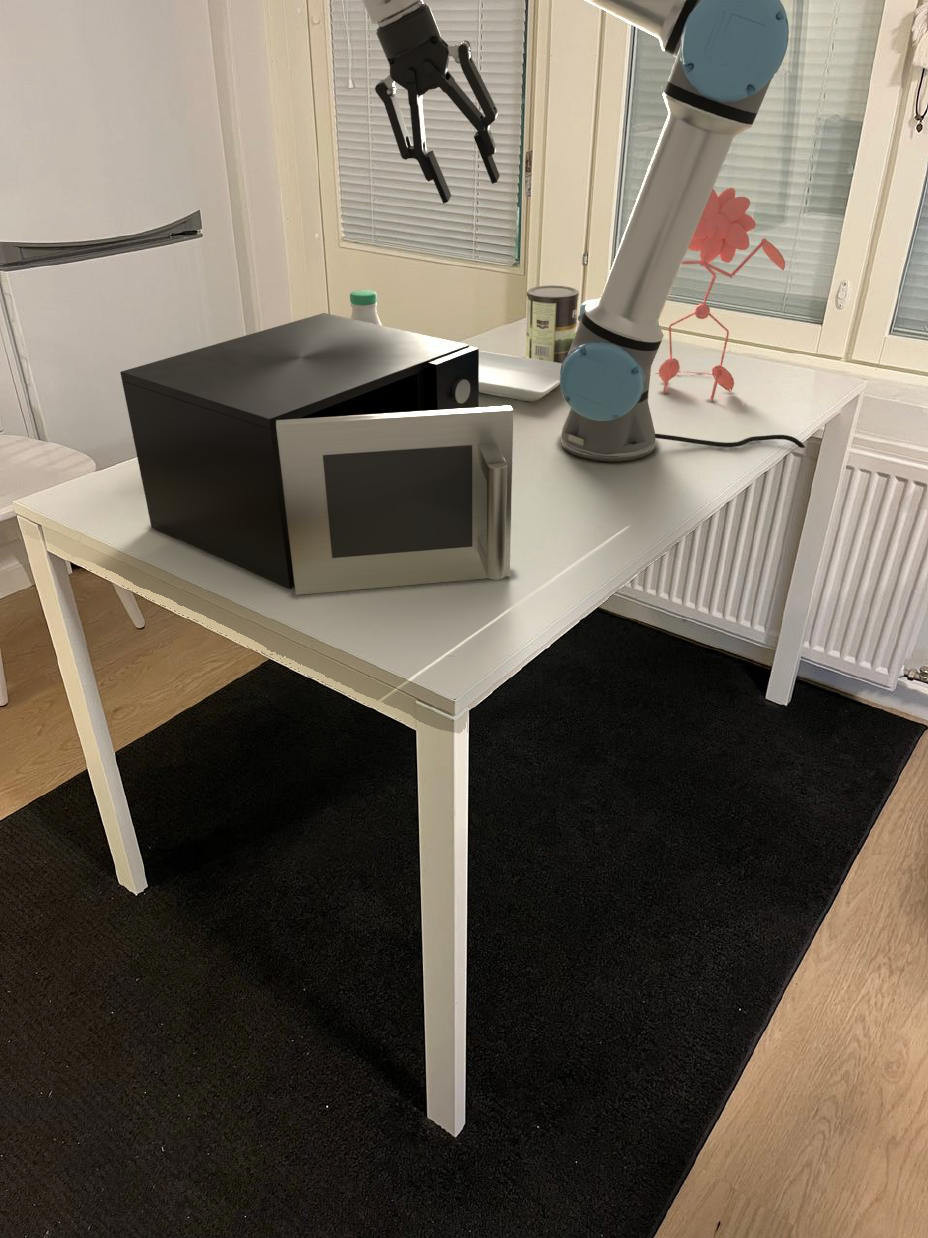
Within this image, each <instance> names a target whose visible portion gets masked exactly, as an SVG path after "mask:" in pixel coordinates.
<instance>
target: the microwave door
mask: <svg viewBox="0 0 928 1238" xmlns="http://www.w3.org/2000/svg"><path fill="white" fill-rule="evenodd" d="M276 430H277V438H278V447H279V455H280V464H281V473H282V481H283V490H284V498H285V507H286V515H287V524H288V533H289V541H290V550H291V558H292V567H293V575H294V584H295V587H294V591H295V595H296V596H301V595H313V594H323V593H335V592H336V593H337V592H348V591H359V590H368V589H370V590H371V589H381V588H392V587H393V588H394V587H404V586H417V585H427V584H441V583H449V582H450V583H451V582H462V581H473V580H474V581H475V580H485V579H490V580H493V581H494V580H495V581H497V580H498V581H499V580H501V579H504V578H509V577H510V576H511V540H512V539H511V538H512V537H511V535H512V534H511V533H512V495H513V493H512V491H513V489H512V488H513V487H512V486H513V450H514V449H513V445H514V444H513V443H514V436H513V435H514V409H513V407H512V406H511V405H501V406H499V405H498V406H497V405H496V406H487V407H486V406H483V407H479V408H465V409H449V410H433V411H417V412H401V413H385V414H369V415H353V416H337V417H321V418H305V419H289V420H276Z"/></svg>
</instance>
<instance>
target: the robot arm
mask: <svg viewBox="0 0 928 1238" xmlns="http://www.w3.org/2000/svg"><path fill="white" fill-rule="evenodd" d="M585 1H586V2H588V3H589V4H591V5H593V6H595V7H597V8H599V9H601V10H603V11H605V12H607V13H609V14H611V15H613V16H615V17H616V18H619V19H621V20H622V21H624V22H625V23H628V24H630V25H632V26H634V27H636V28H638V29H639V30H642V31H643V32H645V33H648V34H650V35H651V36H654V37H655V38H657V39H658V40H659V43H660V47H661V50H662V51H663V52H665V53H667V54H669V55H670V56H673V57H674V58H675V59H674V63H673V65H672V68H671V70H670V74H669V76H668V79H667V82H666V85H665V87H664V91H663V93H662V97H663V99H664V103H665V106H666V108H667V114H668V115H667V118H666V120H665V122H664V126H663V128H662V131H661V133H660V136H659V139H658V142H657V145H656V147H655V150H654V153H653V155H652V158H651V161H650V163H649V165H648V168H647V171H646V174H645V177H644V180H643V182H642V185H641V188H640V190H639V192H638V195H637V198H636V201H635V204H634V205H633V206H634V207H633V209H632V212H631V214H630V217H629V220H628V223H627V226H626V228H625V231H624V234H623V236H622V238H621V242H620V244H619V247H618V249H617V252H616V255H615V258H614V260H613V263H612V266H611V269H610V271H609V274H608V277H607V280H606V282H605V284H604V288H603V290H602V292H601V293H602V294H600V298H597V299H590V300H586V301H584V302H583V303H581V305H580V308H579V313H578V315H577V322H578V325H577V328H576V335H575V337H574V340H573V343H572V346H571V348H570V351H569V354H568V355H567V357H566V358H565V359H564V361H563V363H562V366H561V370H560V385H559V387H560V392H561V394H562V397H563V398H564V401H565V402H566V403H567V405H568V406H569V411H568V414H567V417H566V419H565V420H564V421H565V422H564V424H563V426H562V431H561V435H560V436H561V437H560V444H561V446H562V448H563V449H564V450H565V451H567V452H568V453H569V454H572V455H574V456H576V457H578V458H582V459H586V460H591V461H596V462H597V461H598V462H607V463H608V462H609V463H614V462H619V463H620V462H628V461H633V460H639V459H641V458H644V457H647V456H649V455H650V454H652V453H653V451H654V450H655V446H656V439H658V440H668V441H675V442H682V443H689V444H695V445H702V446H703V445H704V446H710V447H716V448H717V447H719V448H736V447H737V448H738V447H741V446H744V445H746V444H748V443H751V442H759V441H760V442H761V441H772V440H773V441H774V440H783V441H788V442H792V443H793V444H795V445H796V446H798V448H801V449H804V448H805V449H806V446H805V445H804V444H803V442H802V441H800V440H799V439H798V438H796V437H794V436H792V435H787V434H769V435H767V434H766V435H755V436H750V437H749V436H748V437H747V438H743V439H741V440H738V441H732V442H729V441H728V442H726V441H725V442H724V441H714V440H707V439H698V438H691V437H684V436H678V435H671V434H662V433H656V431H655V426H654V422H653V418H652V413H651V408H650V405H649V393H650V392H649V391H650V382H651V381H650V380H651V372H652V366H653V364H654V363H653V362H654V361H655V359H656V355H657V353H658V351H659V349H660V346H661V344H662V341H663V339H664V336H665V335H664V334H665V333H664V332H663V329H662V326H661V324H660V321H659V320H660V318H661V316H662V313H663V311H664V308H665V306H666V303H667V301H668V299H669V295H670V294H671V291H672V288H673V286H674V284H675V281H676V279H677V277H678V274H679V272H680V270H681V267H682V265H683V264H682V262H683V261H685V260H684V259H685V257H686V255H687V252H688V250H689V249H688V247H689V245H690V243H691V240H692V238H693V235H694V233H695V230H696V228H697V226H698V223H699V221H700V218H701V216H702V213H703V211H704V209H705V206H706V204H707V201H708V199H709V196H710V194H711V192H712V189H714V187H715V184H716V181H717V179H718V177H719V175H720V172H721V169H722V167H723V164H724V162H725V160H726V158H727V155H728V153H729V150H730V148H731V145H732V143H733V141H734V138H735V137H736V136H738V135H739V134H742V133H743V132H746V131H747V130H749V129H751V128H752V126H753V124H754V122H755V120H756V117H757V115H758V113H759V111H760V108H761V106H762V103H763V102H764V99H765V97H766V94H767V91H768V89H769V86H770V84H771V82H772V80H773V78H774V76H775V74H777V73H778V71H779V69H780V67H781V66H782V64H783V61H784V58H785V56H786V52H787V50H788V45H789V37H790V36H789V33H790V31H789V30H790V29H789V27H790V26H789V19H788V15H787V12H786V8H785V7H784V4H783V3H782V1H781V0H585ZM362 4H363V5H364V8H365V10H366V12H367V14H368V17H369V20H370V21H371V24H373V25H377V26H378V28H376V32H375V34H376V35H377V38H378V41H379V43H380V46H381V49H382V51H383V53H384V56H385V58H386V60H387V62H388V65H389V75H387V76H386V77H385V78H384V79H381V80H379V82H378V83H376V85H375V86H374V91H375V93H376V94H377V96H378V97H379V99H380V100H381V101H382V103H383V105H384V107H385V110H386V114H387V117H388V120H389V123H390V126H391V130H392V132H393V136H394V138H395V141H396V144H397V148H398V151H399V154H400V157H401V159H403V160H409V159H413V160H416V161H417V162H418V164H419V167H420V169H421V172H422V174H423V176H424V179H425V181H427V182H431V181H433V183H434V185H435V188H436V190H437V193H438V195H439V197H440V199H441V202H442V204H443V205H444V204H447V203H449V202H450V200H451V197H452V193H451V191H450V188H449V186H448V183H447V181H446V179H445V175H444V173H443V172H442V169H441V166H440V164H439V162H438V159H437V157H436V155H435V152H434V150H429V151H428V152H427V150H428V147H427V143H426V142H427V141H426V130H425V117H424V105H423V98H424V97H423V95H425V94H426V93H427V92H428V91H430V90H436V89H440V91H442V92H443V93H445V94H446V95H447V96H448V98H449V99H450V100H451V101H452V102H453V104H454V105H455V107H456V108H457V109H458V110H459V111H460V112H461V113H462V114H463V116H464V117H465V118H466V120H468V121H469V123H470V124H471V125H472V126H473V128H474V129H475V130H476V132H475V133H474V134H473V135H474V136H473V139H474V142H475V143H476V147H477V149H478V152H479V154H480V157H481V160H482V162H483V165H484V167H485V170H486V173H487V175H488V177H489V180H490V183H491V185H494V184H496V183H498V181H499V179H500V176H501V175H500V173H499V170H498V167H497V165H496V162H495V160H494V157H493V155H495V154H496V152H497V145H496V142H495V139H494V137H493V134H492V132H491V130H490V129H491V128H490V125H491V124H493V123H494V122H495V121H496V119H497V117H498V115H499V110H498V108H497V106H496V104H495V102H494V99H493V98H492V96H491V94H490V92H489V90H488V87H487V86H486V83H485V82H484V80H483V77H482V76H481V74H480V72H479V70H478V68H477V66H476V63H475V62H474V60H473V54H472V47H471V43H470V41H469V40H463V41H462V42H461V43H457V44H451V45H449V44H448V43H447V42H446V41H445V40H444V38H443V37H442V35H441V32H440V30H439V27H438V25H437V22H436V20H435V17H434V14H433V12H432V10H431V9H432V8H431V7H430V5H429V4H428V3H427V2H424V1H423V0H362ZM450 57H452V58H453V59H454V62H456V64H459V65H460V67H461V70H462V73H463V74H464V77H465V79H466V81H467V83H468V85H469V87H470V89H471V91H472V93H473V95H474V97H475V99H476V100H477V103H478V105H479V107H480V109H481V110H482V112H483V113H482V112H481V111H480V110H479V108H478V107H477V106H476V105H475V104H474V102H473V101H472V100H471V99H470V97H469V96H468V95H467V93H465V91H464V90H463V89H462V88H461V87H460V85H459V84H458V83H457V82H456V80H455V78H454V76H453V75H452V74H451V72H450V71H449V70H448V67H449V61H450ZM395 83H396V84H398V85H399V86H401V88H403V89H405V90H406V91H407V99H408V105H409V112H410V121H411V122H410V123H411V132H412V133H411V135H412V141H411V138H410V135H409V132H408V129H407V125H406V122H405V120H404V119H405V118H404V116H403V113H402V110H401V106H400V104H399V100H398V98H397V96H396V90H397V88H396V85H395Z"/></svg>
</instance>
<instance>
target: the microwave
mask: <svg viewBox="0 0 928 1238" xmlns="http://www.w3.org/2000/svg"><path fill="white" fill-rule="evenodd" d="M479 348H480V347H479ZM479 348H478V347H474V346H470V344H467V343H463V342H459V341H453V340H448V339H444V338H439V337H435V336H431V335H426V334H422V333H417V332H413V331H408V330H403V329H399V328H395V327H389V326H386V325H382V326H381V325H377V324H372V323H368V322H363V321H359V320H354V319H351V317H350V318H349V317H344V316H341V315H335V314H331V313H327V312H323V313H319V314H316V315H312V316H309V317H304V318H302V319H298V320H294V321H292V322H287V323H284V324H281V325H278V326H274V327H271V328H267V329H264V330H260V331H257V332H252V333H249V334H247V335H243V336H239V337H236V338H232V339H228V340H226V341H222V342H218V343H216V344H212V345H208V346H204V347H201V348H197V349H194V350H190V351H188V352H184V353H180V354H176V355H174V356H170V357H166V358H162V359H160V360H156V361H153V362H149V363H145V364H143V365H139V366H135V367H132V368H129V369H125V370H123V371H122V370H121V371H120V373H119V374H120V378H121V379H120V380H121V383H122V388H123V393H124V399H125V404H126V409H127V413H128V418H129V424H130V429H131V432H132V433H131V434H132V438H133V443H134V449H135V452H136V458H137V463H138V467H139V472H140V478H141V483H142V487H143V492H144V497H145V503H146V508H147V512H148V517H149V522H150V527H151V529H153V530H156V531H158V532H160V533H162V534H165V535H167V536H168V537H171V538H173V539H175V540H178V541H181V542H183V543H185V544H187V545H190V546H192V547H193V548H196V549H198V550H201V551H203V552H206V553H208V554H209V555H212V556H214V557H216V558H218V559H221V560H223V561H225V562H228V563H230V564H232V565H234V566H236V567H239V568H240V569H243V570H245V571H247V572H250V573H252V574H254V575H256V576H258V577H261V578H262V579H265V580H268V581H269V582H272V583H274V584H276V585H278V586H281V587H282V588H285V589H287V590H289V591H290V590H293V589H295V584H294V575H293V567H292V558H291V550H290V541H289V533H288V524H287V515H286V507H285V498H284V490H283V481H282V473H281V464H280V455H279V447H278V438H277V430H276V420H289V419H305V418H321V417H337V416H353V415H369V414H385V413H401V412H417V411H433V410H449V409H465V408H480V406H479V404H480V402H479V401H480V395H479V394H480V392H479V350H480V349H479Z"/></svg>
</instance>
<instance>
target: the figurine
mask: <svg viewBox="0 0 928 1238" xmlns="http://www.w3.org/2000/svg"><path fill="white" fill-rule="evenodd" d="M750 205H751V200H750V198H748V197H747V196H736V190H735V189H734V188H733V187H729V188H728V187H727V188H726V189H725V190H723V191H721V192H720V194H719V195H718V194H717V192H716V189H714V188H713V189H712V192H711V194H710V196H709V199H708V201H707V204H706V206H705V209H704V211H703V213H702V216H701V218H700V221H699V223H698V226H697V228H696V230H695V233H694V235H693V238H692V240H691V243H690V245H689V247H688V250H689V251H693V252H700V254H699V257H700V260H683V262H682V264H681V265H699V266H701V267H704V268H705V269H706V270H707V271H708V272H709V273H710V274H711V276H712V278H711V281H710V283H709V286H708V289H707V291H706V294H705V297H704V300H703V302H702V303H699V304H697V305H696V307H695V309H694V312H692V313H690V314H688V315H686V316H684V317H682V318H681V319H678V320H676V321H674V322H672V323H670V324H669V326H668V338H669V340H668V341H669V358H668V359H665V360H664V361H663V363H661V365H660V366H659V368H658V372H655V373H654V374H655V375H658V376H659V377H660V379H661V381H662V382H663V383H664V386H663V389H662V394H666V392H667V389H668V384H669V381H670V380H672V379H673V378H675V377H676V376H677V375H678V374H679V373H680V369H681V366H680V362H679V360H678V359H676V358H673V348H672V347H673V343H672V326H675V325H677V324H679V323H681V322H683V321H685V320H686V319H688V318H690V317H692V316H695V317H696V318H697V319H699V320H705V319H707V318H708V317H710V318H711V319H713V321H715V323H717V325H719V326H720V327H721V328H722V329H723V330H725V332H726V335H725V340H724V345H723V349H722V354H721V359H720V363H719V365H717V364H716V365H714V366H713V367H712V368H711V370H712V371H711V372H712V373H711V374H710V373H709V372H705V371H704V372H699V374H700V375H709V376H712V377H713V379H714V383H713V387H712V390H711V393H710V399H709V401H710V402H713V401H714V399H715V394H716V390H717V386H718V385H719V386H720V387H722V388H724V389H725V391H727V392H729V393H731V392H732V390H734V389H733V388H734V386H735V380H734V377H733V374H731V372H730V371H729V370H728V369H726V368H725V367H724V366H723V362H724V358H725V354H726V349H727V346H728V345H727V344H728V340H729V336H730V332H729V329H728V328H727V327H726V326H725V325H723V323H721V321H719V320H718V319H717V318H716V317H715V316H714V315H713V314H712V313H711V309H710V308H711V307H710V306H709V305H708V304H707V303H706V302H707V300H708V298H709V296H710V293H711V290H712V289H713V286H714V284H715V281H716V279H717V273H716V272H718V273H720V274H722V275H724V276H726V277H728V278H730V279H732V278H733V277H734V276H735V275H736V274H737V273H738V272H739V271H740V270H741V269H742V268H743V267H744V266H745V265H746V264H747V262H748V261H749V260H750V259H751V258H752V257H753V256H754V255H755V254H756V253H757V252H758V251H759V250H760V248H762V251H763V252H764V254H765V255H766V256H767V258H769V260H770V261H771V262H772V263H773V264H775V266H777V268H779V269H781V270H782V271H784V270H785V268H786V260H785V258H784V256H783V255H782V253H781V251H780V250H779V249H778V248H777V247H776V246H775V245H774V244H773V243H772V242H770V241H769V240H767V239H766V238H764V237H763V238H762V239H761V241H760V242H759V244H757V246H756V247H755V248H753V250H752V251H751V252H750V253H749V254H748V255H747V256H746V257H745V259H743V261H742V262H741V263H740V264H739V265H738V266H737V267H736V268H735V269H734V270H733V271H732V272H731V273H730V272H728V271H726V270H724V269H722V268H719V267H717V266H715V265H713V264H711V262H713V261H714V260H716V259H717V258H718V257H719V258H720V260H721V261H722V262H723V263H726V264H729V263H731V262H732V261H733V259H734V257H735V255H736V251H737V250H738V251H746V250H748V249H749V247H750V238H749V234H748V233H749V232H750V231H752V230H754V229H756V226H757V223H756V220H755V219H754V218H753V217H752V216H751V215H750V214H748V213H746V212H747V211H748V210H749V207H750ZM747 232H748V233H747ZM684 373H686V374H688V373H689V374H698V372H697V371H684ZM745 405H746V403H743V404H742V405H741V407H744V406H745Z"/></svg>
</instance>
